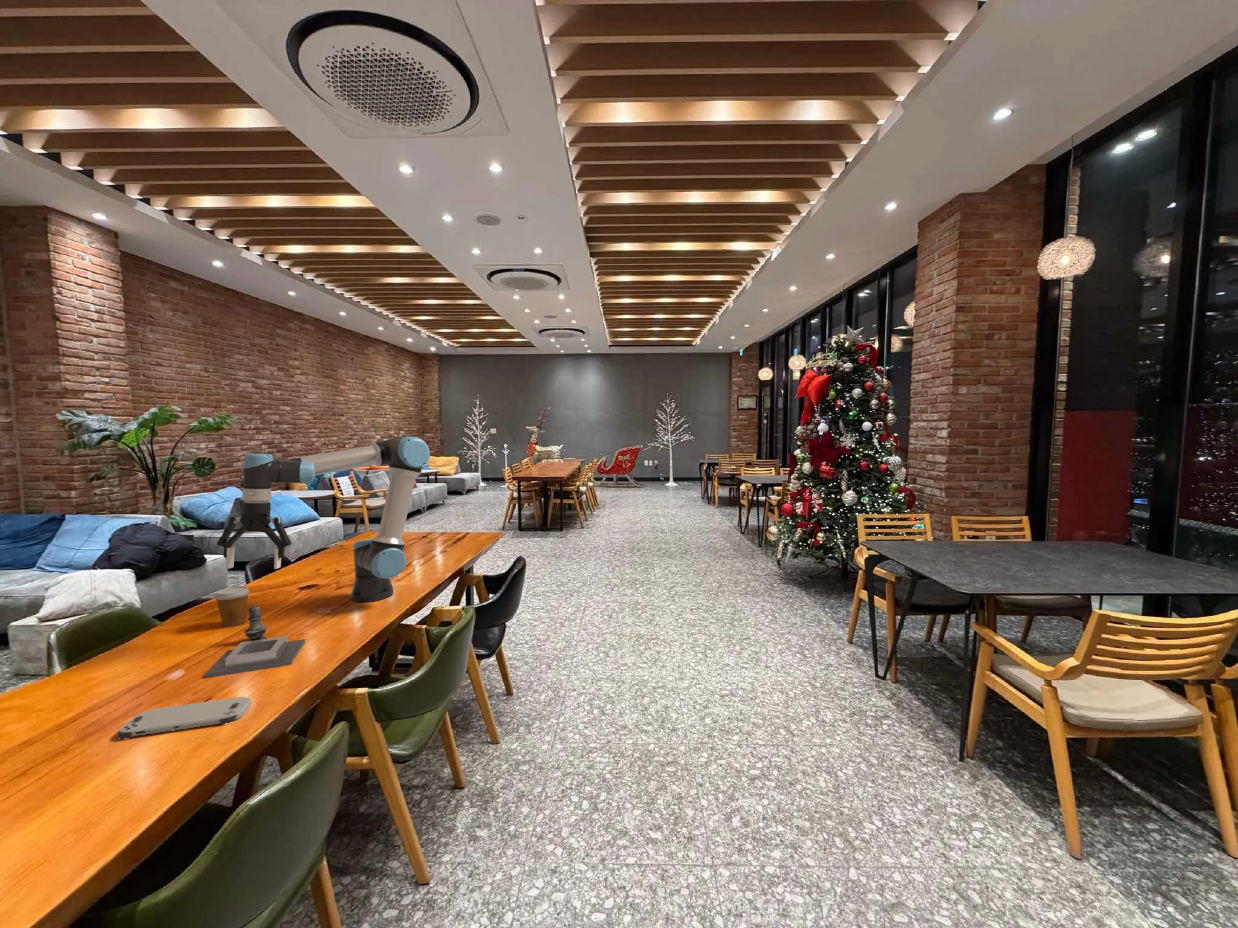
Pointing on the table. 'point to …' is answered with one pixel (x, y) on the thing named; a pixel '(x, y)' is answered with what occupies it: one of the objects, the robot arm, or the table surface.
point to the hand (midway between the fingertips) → (253, 568)
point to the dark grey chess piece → (255, 625)
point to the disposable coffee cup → (232, 605)
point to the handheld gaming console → (185, 716)
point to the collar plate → (279, 662)
